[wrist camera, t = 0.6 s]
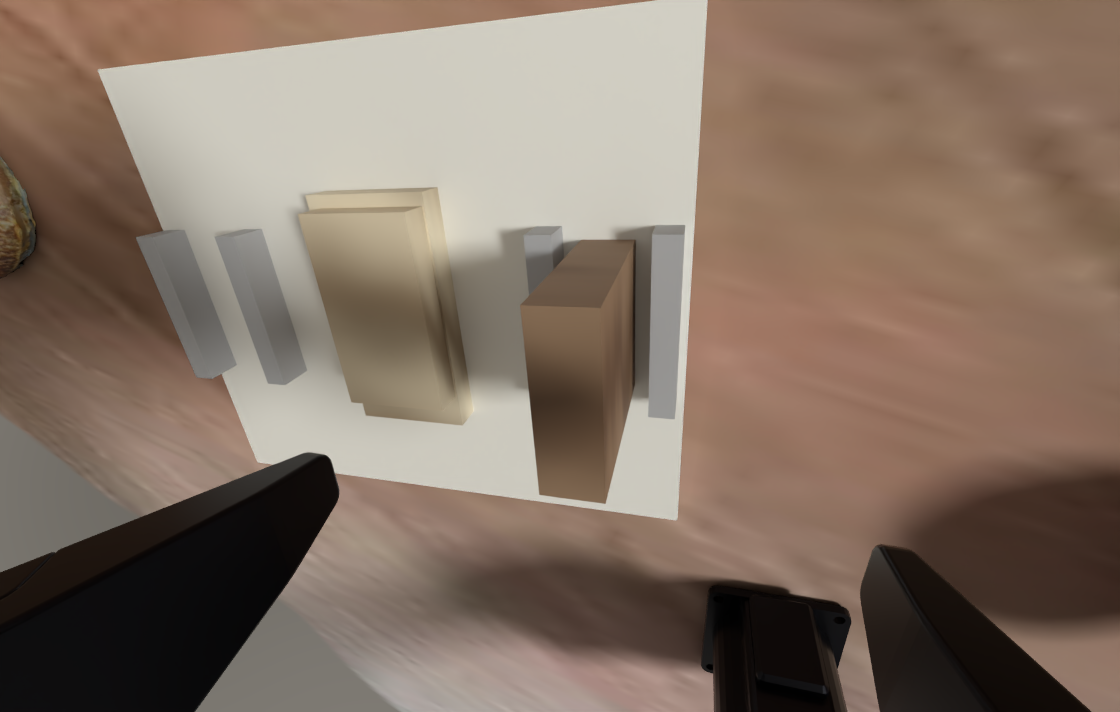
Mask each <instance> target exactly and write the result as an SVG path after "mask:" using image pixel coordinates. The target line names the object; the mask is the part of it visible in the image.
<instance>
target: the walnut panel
mask: <svg viewBox="0 0 1120 712" xmlns="http://www.w3.org/2000/svg"><path fill="white" fill-rule="evenodd" d="M635 283H636V240H581V241H580V242H579V243H578V244H577V245H576V246H575V247H574V248H573V249H572V250H571V251H570V252H569V253H568V254H567V256H566V257H565V258H564V259H563V260H562V261H561V262H560V263H559V264H558V265H557V266H556V267H555V268H554V269H553V271H552V272H551V273H550V274H549V275H548V276H547V277H546V278H545V279H544V280H543V281H542V282H541V283H540V284H539V286H538V287H537V288H536V289H535V290H534V291H533V292H532V293H531V294H530V295H529V296H528V297H527V298H526V299H525V301H524V302H523V303H522V304H521V305H520V310H521V319H522V329H523V339H524V349H525V359H526V369H527V379H528V389H529V398H530V408H531V418H532V428H533V438H534V448H535V458H536V467H537V477H538V487H539V495H543V496H551V497H558V498H566V499H573V500H580V501H588V502H595V503H602V504H606V500H607V496H608V492H609V488H610V484H611V480H612V476H613V472H614V468H615V464H616V460H617V456H618V452H619V448H620V443H621V439H622V435H623V431H624V427H625V423H626V419H627V415H628V411H629V407H630V403H631V399H632V395H633V391H634V387H635Z"/></svg>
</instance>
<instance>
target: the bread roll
mask: <svg viewBox="0 0 1120 712" xmlns="http://www.w3.org/2000/svg"><path fill="white" fill-rule="evenodd" d="M28 204H29V202H28V199H27V194H26V192H25V189H24V190H23V189H22V188H21V186H20V183H19V181H18V180H17V179H16V178H15V177H14V174H13V172H12V170H11V169H10V168H9V167H8V166H7V164H6V163H5V162H4V161H3V159H2V158H1V157H0V278H2V277H5V276H6V275H7V274H9V273H10V272H14V270H16V269H18V268H20V267H22V266H23V264H20V265H18V264H19V263H20V262H21V261H22V260H24V259H25V258H26V256H29V255H30V254H31V253H32V252H33V251H34V246H35V243H36V242H35V239H36V235H35V227H34V226H36V223H35V221H34V219H33V217H32V212H31V210H30V207H29V205H28ZM17 265H18V266H17Z"/></svg>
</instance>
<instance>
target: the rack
mask: <svg viewBox="0 0 1120 712" xmlns="http://www.w3.org/2000/svg"><path fill="white" fill-rule="evenodd" d="M707 1H708V0H657V1H649V2H641V3H633V4H624V5H616V6H608V7H600V8H592V9H584V10H576V11H568V12H560V13H552V14H544V15H536V16H528V17H519V18H511V19H503V20H495V21H487V22H479V23H471V24H463V25H455V26H447V27H439V28H431V29H423V30H414V31H406V32H398V33H390V34H382V35H374V36H366V37H358V38H350V39H342V40H334V41H326V42H318V43H309V44H301V45H293V46H285V47H277V48H269V49H261V50H253V51H245V52H237V53H229V54H221V55H213V56H204V57H196V58H188V59H180V60H172V61H164V62H156V63H148V64H140V65H132V66H124V67H116V68H108V69H99V70H98V72H99V75H100V77H101V80H102V82H103V85H104V87H105V89H106V92H107V94H108V97H109V99H110V102H111V104H112V107H113V109H114V112H115V114H116V116H117V119H118V121H119V124H120V126H121V129H122V131H123V134H124V136H125V138H126V141H127V143H128V146H129V148H130V151H131V153H132V156H133V158H134V161H135V163H136V165H137V168H138V170H139V173H140V175H141V178H142V180H143V183H144V185H145V187H146V190H147V192H148V195H149V197H150V200H151V202H152V205H153V207H154V210H155V212H156V214H157V217H158V219H159V222H160V224H161V227H162V229H163V231H161V232H157V233H152V234H148V235H143V236H139V237H136V239H137V242H138V244H139V246H140V249H141V251H142V253H143V256H144V258H145V260H146V262H147V265H148V267H149V269H150V272H151V274H152V276H153V279H154V281H155V283H156V285H157V288H158V290H159V292H160V295H161V297H162V299H163V302H164V304H165V306H166V308H167V311H168V313H169V315H170V318H171V320H172V322H173V325H174V327H175V329H176V331H177V334H178V336H179V338H180V341H181V343H182V345H183V348H184V350H185V352H186V354H187V357H188V359H189V361H190V364H191V366H192V368H193V371H194V373H195V375H196V377H198V378H209V379H213V378H214V377H216V376H218V375H220V374H222V376H223V379H224V381H225V384H226V386H227V388H228V391H229V393H230V396H231V398H232V401H233V403H234V406H235V408H236V410H237V413H238V415H239V418H240V420H241V423H242V425H243V428H244V430H245V433H246V435H247V437H248V440H249V442H250V445H251V447H252V450H253V452H254V455H255V457H256V459H257V462H259V463H266V464H273V465H274V464H277V463H279V462H282V461H284V460H287V459H290V458H292V457H295V456H297V455H300V454H302V453H306V452H312V453H319V454H324V455H327V456H328V457H329V458H330V459H331V461H332V465H333V468H334V472H335V473H338V474H345V475H353V476H360V477H367V478H374V479H381V480H389V481H396V482H403V483H410V484H417V485H425V486H432V487H439V488H446V489H454V490H461V491H468V492H475V493H482V494H490V495H497V496H504V497H511V498H518V499H526V500H533V501H540V502H547V503H555V504H562V505H569V506H576V507H583V508H591V509H598V510H605V511H612V512H619V513H627V514H634V515H641V516H648V517H655V518H663V519H670V520H677V516H678V500H679V483H680V465H681V448H682V431H683V414H684V397H685V379H686V362H687V345H688V328H689V311H690V293H691V276H692V259H693V242H694V225H695V207H696V190H697V173H698V156H699V138H700V121H701V104H702V87H703V70H704V52H705V35H706V18H707ZM429 187H438V194H439V200H440V206H441V212H442V218H443V225H444V231H445V237H446V243H447V249H448V256H449V262H450V268H451V274H452V280H453V287H454V293H455V299H456V305H457V311H458V318H459V324H460V330H461V336H462V343H463V349H464V355H465V361H466V367H467V374H468V380H469V386H470V392H471V398H472V405H473V413H472V414H471V415H470V417H469V418H468V419H467V421H466V422H465V423H464V424H463V425H453V424H443V423H433V422H423V421H414V420H404V419H394V418H384V417H374V416H366V414H365V411H364V407H363V404H362V403H353V402H351V399H350V396H349V392H348V389H347V385H346V382H345V378H344V375H343V371H342V368H341V364H340V361H339V357H338V354H337V350H336V347H335V343H334V340H333V336H332V333H331V329H330V326H329V322H328V319H327V315H326V312H325V308H324V305H323V301H322V298H321V294H320V291H319V287H318V284H317V280H316V277H315V273H314V270H313V266H312V263H311V259H310V256H309V252H308V249H307V245H306V242H305V238H304V235H303V231H302V228H301V224H300V221H299V217H298V214H301V213H304V212H308V211H309V207H308V203H307V200H306V196H305V195H309V194H314V193H318V192H323V191H337V190H368V189H398V188H429ZM581 240H636V283H635V387H634V391H633V395H632V399H631V403H630V407H629V411H628V415H627V419H626V423H625V427H624V431H623V435H622V439H621V443H620V448H619V452H618V456H617V460H616V464H615V468H614V472H613V476H612V480H611V484H610V488H609V492H608V496H607V500H606V504H602V503H595V502H588V501H580V500H573V499H566V498H558V497H551V496H543V495H539V487H538V477H537V467H536V458H535V448H534V438H533V428H532V418H531V408H530V398H529V389H528V379H527V369H526V359H525V349H524V339H523V329H522V319H521V310H520V305H521V304H522V303H523V302H524V301H525V299H526V298H527V297H528V296H529V295H530V294H531V293H532V292H533V291H534V290H535V289H536V288H537V287H538V286H539V284H540V283H541V282H542V281H543V280H544V279H545V278H546V277H547V276H548V275H549V274H550V273H551V272H552V271H553V269H554V268H555V267H556V266H557V265H558V264H559V263H560V262H561V261H562V260H563V259H564V258H565V257H566V256H567V254H568V253H569V252H570V251H571V250H572V249H573V248H574V247H575V246H576V245H577V244H578V243H579V242H580V241H581Z"/></svg>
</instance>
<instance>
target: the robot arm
mask: <svg viewBox="0 0 1120 712" xmlns="http://www.w3.org/2000/svg"><path fill="white" fill-rule="evenodd" d="M338 498H339V486H338V483H337V479H336V475H335V472H334V468H333V465H332V461H331V459H330V458H329V457H328V456H327V455H324V454H319V453H312V452H306V453H302V454H300V455H297V456H295V457H292V458H290V459H287V460H284V461H282V462H279V463H277V464H274V465H272V466H269V467H267V468H264V469H262V470H259V471H257V472H254V473H252V474H249V475H247V476H244V477H241V478H239V479H236V480H234V481H231V482H229V483H226V484H224V485H221V486H219V487H216V488H214V489H211V490H209V491H206V492H203V493H201V494H198V495H196V496H193V497H191V498H188V499H186V500H183V501H181V502H178V503H176V504H173V505H171V506H168V507H166V508H163V509H160V510H158V511H155V512H153V513H150V514H148V515H145V516H143V517H140V518H138V519H135V520H133V521H130V522H128V523H125V524H123V525H120V526H118V527H115V528H112V529H110V530H108V531H105V532H102V533H100V534H97V535H95V536H92V537H90V538H87V539H85V540H82V541H80V542H77V543H74V544H72V545H69V546H67V547H64V548H62V549H60V550H58V551H57V552H56V553H55V552H52V553H49V554H46V555H44V556H41V557H39V558H36V559H34V560H31V561H29V562H26V563H24V564H21V565H18V566H16V567H13V568H11V569H8V570H5V571H3V572H0V712H195V711H196V710H197V708H198V707H199V706H200V704H201V703H202V701H203V700H204V698H205V697H206V696H207V694H208V693H209V692H210V690H211V689H212V687H213V686H214V685H215V683H216V682H217V681H218V679H219V678H220V676H221V675H222V674H223V672H224V671H225V670H226V668H227V667H228V665H229V664H230V663H231V661H232V660H233V658H234V657H235V656H236V654H237V653H238V652H239V650H240V649H241V647H242V646H243V644H244V643H245V642H246V641H247V639H248V638H249V636H250V635H251V634H252V632H253V631H254V630H255V628H256V627H257V625H258V624H259V622H260V621H261V620H262V618H263V617H264V616H265V614H266V613H267V611H268V610H269V609H270V607H271V606H272V605H273V603H274V602H275V600H276V599H277V598H278V596H279V595H280V594H281V592H282V591H283V589H284V588H285V586H286V585H287V584H288V582H289V581H290V579H291V578H292V576H293V575H294V573H295V571H296V570H297V568H298V567H299V565H300V563H301V562H302V560H303V558H304V557H305V555H306V553H307V552H308V550H309V548H310V547H311V545H312V543H313V542H314V540H315V538H316V537H317V535H318V533H319V532H320V530H321V528H322V527H323V525H324V523H325V522H326V520H327V518H328V517H329V515H330V513H331V512H332V510H333V508H334V507H335V505H336V503H337V501H338ZM860 599H861V606H862V612H863V618H864V624H865V629H866V635H867V641H868V647H869V653H870V658H871V664H872V670H873V676H874V682H875V687H876V693H877V699H878V704H879V709H880V712H1091V711H1090V710H1089V709H1088V708H1087V707H1086V706H1085V705H1084V704H1082V703H1081V702H1080V701H1079V700H1078V699H1077V698H1076V697H1075V696H1074V695H1072V694H1071V693H1070V692H1069V691H1068V690H1067V689H1066V688H1065V687H1064V686H1062V685H1061V684H1060V683H1059V682H1058V681H1057V680H1056V679H1055V678H1054V677H1052V676H1051V675H1050V674H1049V673H1048V672H1047V671H1046V670H1045V669H1044V668H1042V667H1041V666H1040V665H1039V664H1038V663H1037V662H1036V661H1035V660H1034V659H1033V658H1031V657H1030V656H1029V655H1028V654H1027V653H1026V652H1025V651H1024V650H1023V649H1021V648H1020V647H1019V646H1018V645H1017V644H1016V643H1015V642H1014V641H1013V640H1011V639H1010V638H1009V637H1008V636H1007V635H1006V634H1005V633H1004V632H1003V631H1001V630H1000V629H999V628H998V627H997V626H996V625H995V624H994V623H993V622H991V621H990V620H989V619H988V618H987V617H986V616H985V615H984V614H983V613H981V612H980V611H979V610H978V609H977V608H976V607H975V606H974V605H973V604H971V603H970V602H969V601H968V600H967V599H966V598H965V597H964V596H963V595H962V594H960V593H959V592H958V591H957V590H956V589H955V588H954V587H953V586H952V585H950V584H949V583H948V582H947V581H946V580H945V579H944V578H943V577H942V576H940V575H939V574H938V573H937V572H936V571H935V570H934V569H933V568H932V567H930V566H929V565H928V564H927V563H926V562H925V561H924V560H923V559H922V558H920V557H919V556H918V555H917V554H916V553H915V552H913V551H912V550H910V549H907V548H902V547H896V546H890V545H883V544H880V545H877V546H876V547H875V548H874V549H873V551H872V553H871V556H870V559H869V562H868V565H867V568H866V571H865V574H864V577H863V580H862V584H861V589H860ZM850 625H851V617H850V614H849V611H848V610H847V609H846V608H844V607H841V606H837V605H831V604H825V603H819V602H813V601H807V600H801V599H795V598H789V597H783V596H777V595H771V594H765V593H759V592H753V591H747V590H741V589H735V588H729V587H724V586H712V587H711V588H709V591H708V599H707V609H706V619H705V628H704V638H703V648H702V657H701V666H702V668H703V669H704V670H705V671H707V672H710V673H713V684H714V712H847V708H846V704H845V700H844V696H843V691H842V687H841V683H840V679H839V675H838V670H837V668H838V665H839V662H840V658H841V655H842V652H843V648H844V645H845V642H846V638H847V635H848V632H849V628H850Z"/></svg>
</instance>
